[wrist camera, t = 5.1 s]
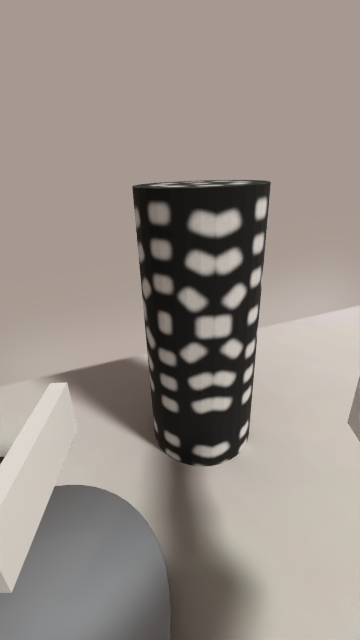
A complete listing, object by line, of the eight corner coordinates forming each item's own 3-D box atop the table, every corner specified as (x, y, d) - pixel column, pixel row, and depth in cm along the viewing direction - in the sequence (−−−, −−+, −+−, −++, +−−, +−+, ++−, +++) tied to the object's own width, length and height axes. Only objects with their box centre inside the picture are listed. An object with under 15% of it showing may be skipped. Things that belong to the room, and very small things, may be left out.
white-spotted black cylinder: (190, 385, 33) (185, 180, 24) (264, 418, 29) (291, 179, 20) (135, 435, 27) (103, 187, 19) (217, 485, 23) (226, 189, 14)
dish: (-236, 771, 12) (-261, 761, 12) (30, 475, 24) (25, 461, 23) (47, 1108, 8) (32, 1121, 7) (205, 540, 19) (205, 525, 19)
